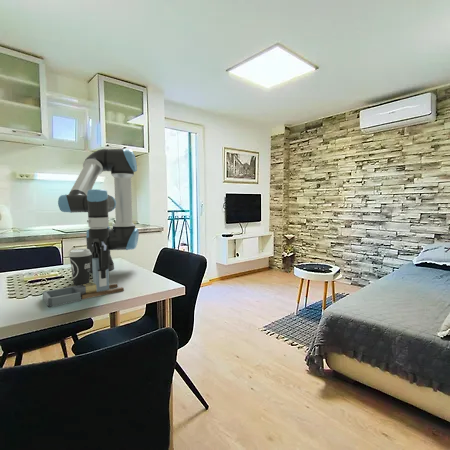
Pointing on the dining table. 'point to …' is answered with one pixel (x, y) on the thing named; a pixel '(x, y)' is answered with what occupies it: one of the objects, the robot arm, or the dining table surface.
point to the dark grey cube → (79, 289)
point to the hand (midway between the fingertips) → (101, 284)
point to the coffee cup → (80, 265)
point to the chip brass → (90, 288)
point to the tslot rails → (104, 292)
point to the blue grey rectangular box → (96, 275)
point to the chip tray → (60, 296)
